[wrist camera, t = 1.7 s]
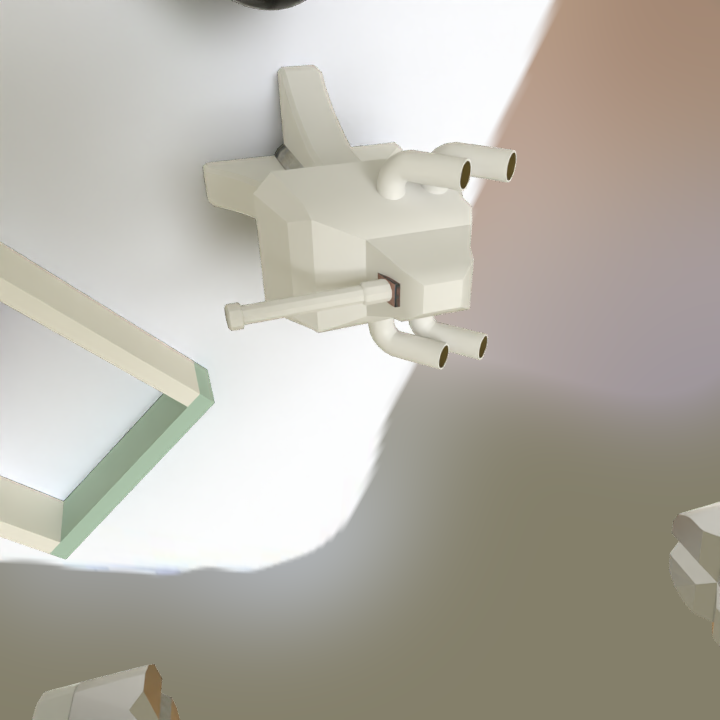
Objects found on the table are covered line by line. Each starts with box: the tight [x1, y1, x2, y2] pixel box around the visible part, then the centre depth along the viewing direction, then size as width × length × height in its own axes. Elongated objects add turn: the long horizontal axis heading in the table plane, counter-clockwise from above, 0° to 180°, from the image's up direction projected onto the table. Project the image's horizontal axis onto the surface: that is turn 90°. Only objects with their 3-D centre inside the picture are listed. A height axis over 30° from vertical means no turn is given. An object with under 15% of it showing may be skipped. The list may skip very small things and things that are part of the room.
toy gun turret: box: [203, 65, 517, 369], centre depth 32 cm, size 12×13×18 cm
